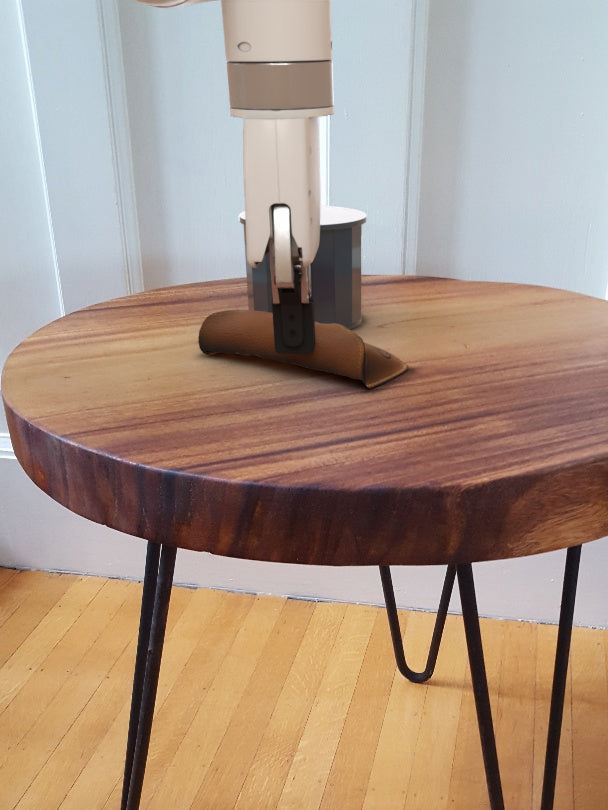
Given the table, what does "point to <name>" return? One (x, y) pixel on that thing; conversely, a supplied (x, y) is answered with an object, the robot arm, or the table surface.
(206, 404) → the table surface
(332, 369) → the sunglasses case
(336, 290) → the pot
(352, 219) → the pot lid
